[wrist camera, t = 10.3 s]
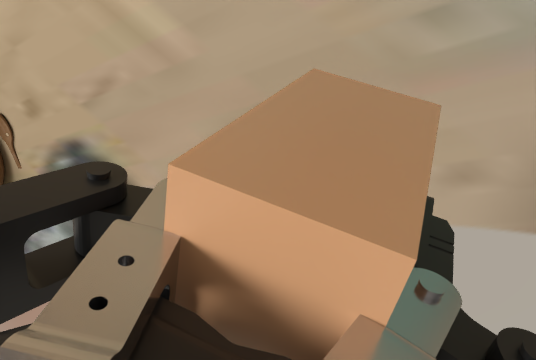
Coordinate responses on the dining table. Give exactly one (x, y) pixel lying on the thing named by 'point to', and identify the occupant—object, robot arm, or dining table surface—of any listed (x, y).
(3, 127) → the place setting
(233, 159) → the block
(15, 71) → the dining table surface
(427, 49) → the dining table surface
